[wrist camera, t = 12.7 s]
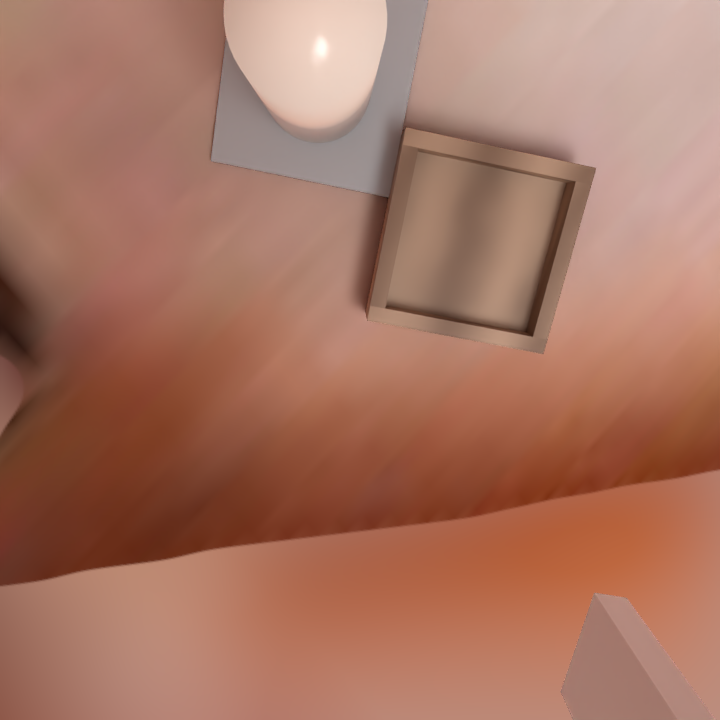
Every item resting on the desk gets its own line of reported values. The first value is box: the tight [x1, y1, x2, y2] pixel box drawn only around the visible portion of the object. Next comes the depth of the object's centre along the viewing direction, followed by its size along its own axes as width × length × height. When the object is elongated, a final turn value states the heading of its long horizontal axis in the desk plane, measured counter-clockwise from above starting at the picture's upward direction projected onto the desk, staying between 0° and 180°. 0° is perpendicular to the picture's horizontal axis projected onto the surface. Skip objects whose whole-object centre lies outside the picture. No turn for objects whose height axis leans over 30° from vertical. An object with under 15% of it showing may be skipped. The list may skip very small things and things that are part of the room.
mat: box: [211, 0, 428, 198], centre depth 35 cm, size 12×12×1 cm
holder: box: [366, 127, 596, 354], centre depth 37 cm, size 12×12×4 cm
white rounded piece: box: [223, 0, 387, 143], centre depth 29 cm, size 7×10×12 cm
